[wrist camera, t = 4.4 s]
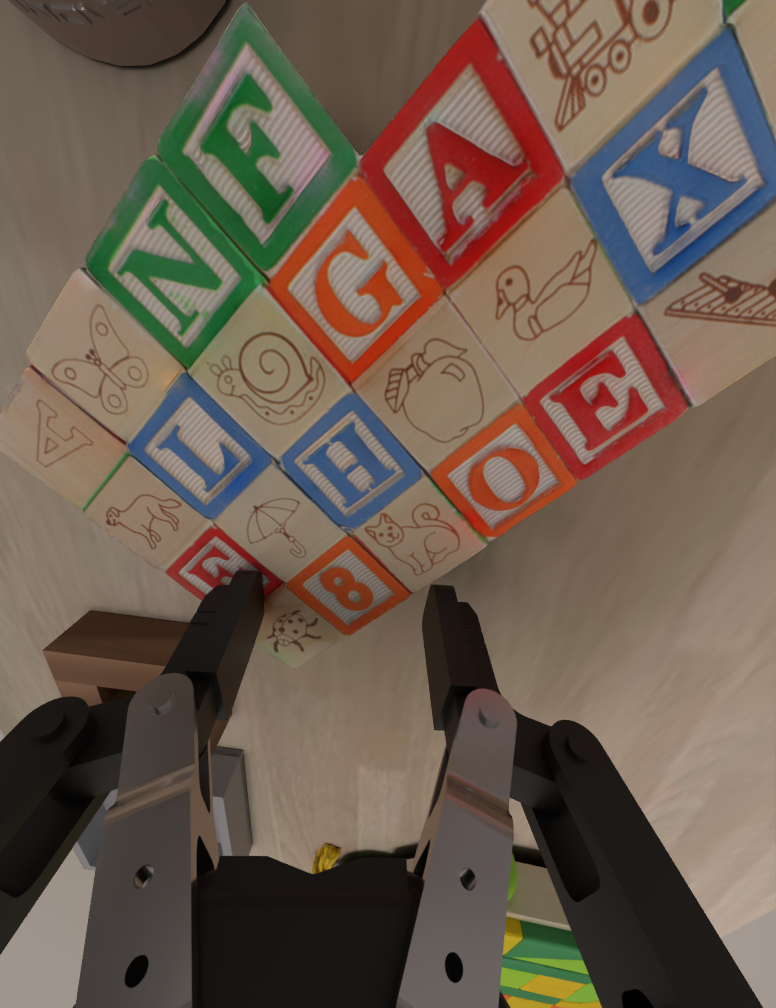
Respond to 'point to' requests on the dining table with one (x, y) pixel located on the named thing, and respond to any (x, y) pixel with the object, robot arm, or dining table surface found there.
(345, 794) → the dining table surface
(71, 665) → the pin base
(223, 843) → the pin tray
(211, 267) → the stack of blocks
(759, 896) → the dining table surface
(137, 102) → the dining table surface
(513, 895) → the wooden turtle toy
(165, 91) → the dining table surface
